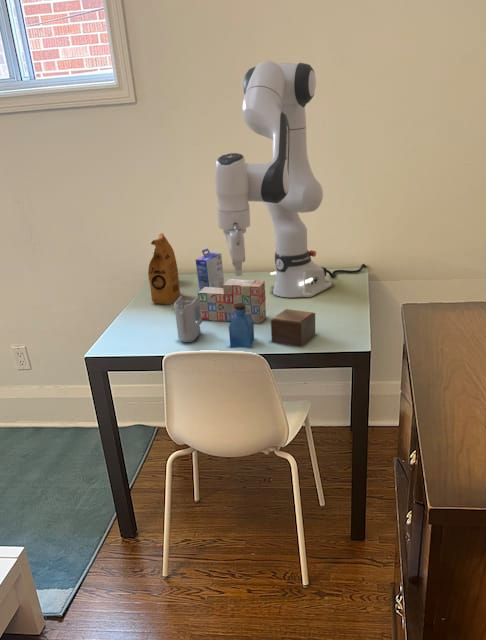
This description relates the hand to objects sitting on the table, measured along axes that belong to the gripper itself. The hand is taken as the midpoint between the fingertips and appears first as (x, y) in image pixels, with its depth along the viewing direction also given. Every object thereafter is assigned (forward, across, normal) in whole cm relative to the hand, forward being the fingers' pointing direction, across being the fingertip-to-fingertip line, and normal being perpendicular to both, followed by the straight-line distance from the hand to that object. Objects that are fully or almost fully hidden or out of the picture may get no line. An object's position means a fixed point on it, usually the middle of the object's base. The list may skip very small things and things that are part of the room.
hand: (237, 270), depth 191 cm
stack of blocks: (+22, +23, +1) cm, 32 cm away
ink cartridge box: (+22, +57, +6) cm, 61 cm away
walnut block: (+22, 0, -16) cm, 27 cm away
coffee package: (+22, +50, +24) cm, 59 cm away
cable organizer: (+22, +10, +15) cm, 29 cm away
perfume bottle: (+22, 0, 0) cm, 22 cm away
